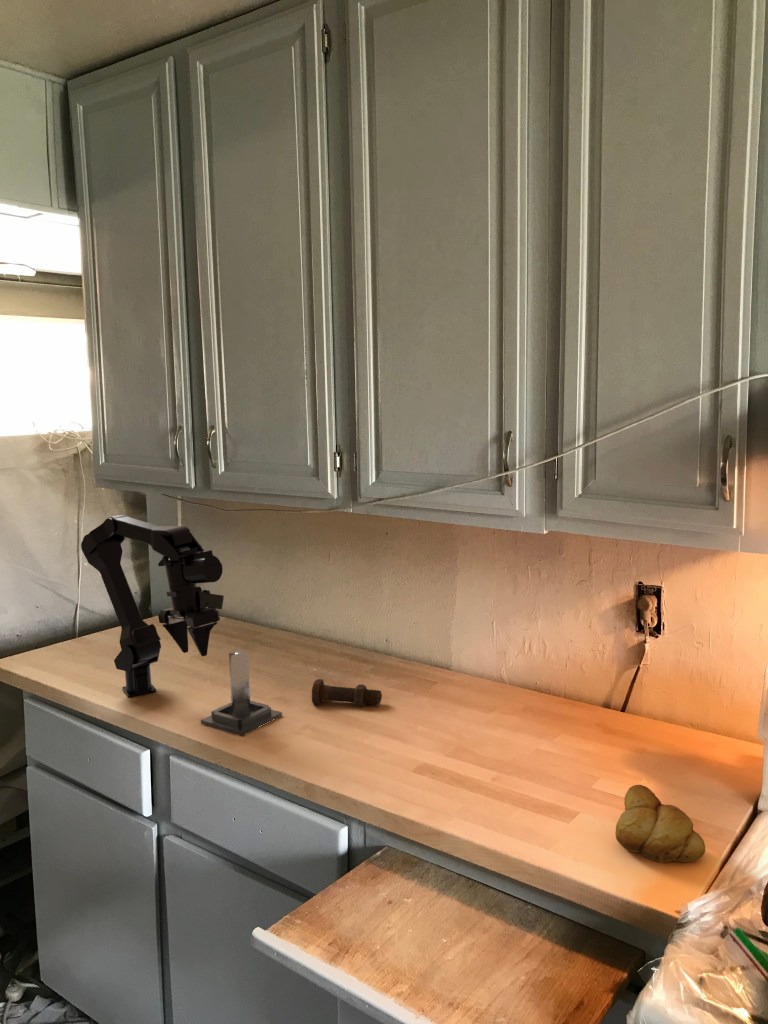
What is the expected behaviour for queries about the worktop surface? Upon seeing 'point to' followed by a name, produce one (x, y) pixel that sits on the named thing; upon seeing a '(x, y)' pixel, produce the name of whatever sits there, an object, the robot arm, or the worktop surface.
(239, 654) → the shiny tapered metal piece
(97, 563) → the robot arm
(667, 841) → the bread roll
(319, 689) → the bolt
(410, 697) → the worktop surface
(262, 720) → the block
